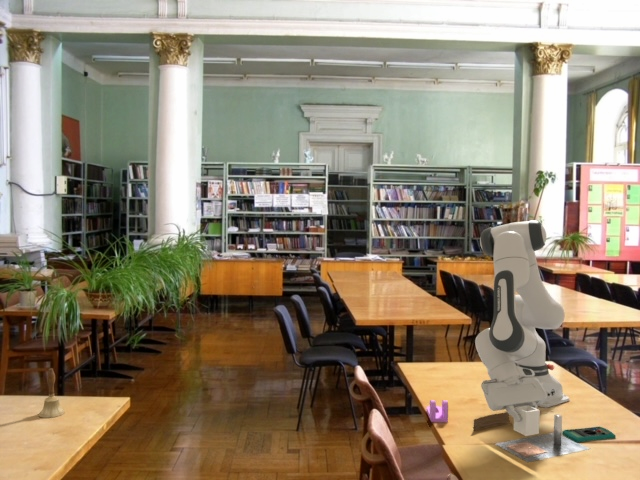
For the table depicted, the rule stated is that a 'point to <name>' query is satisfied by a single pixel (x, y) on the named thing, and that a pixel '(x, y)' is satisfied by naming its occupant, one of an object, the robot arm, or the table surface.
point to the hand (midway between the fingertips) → (528, 419)
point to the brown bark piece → (492, 421)
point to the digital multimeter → (588, 434)
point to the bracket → (442, 411)
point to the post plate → (543, 444)
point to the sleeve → (527, 420)
